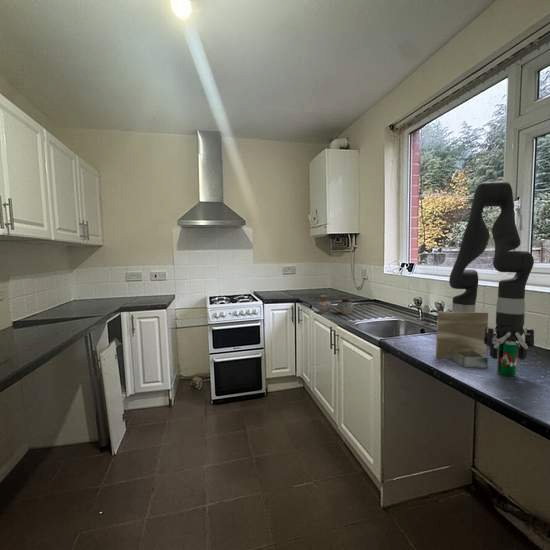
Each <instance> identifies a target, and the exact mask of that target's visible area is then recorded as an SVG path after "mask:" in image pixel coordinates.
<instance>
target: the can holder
mask: <svg viewBox="0 0 550 550" xmlns="http://www.w3.org/2000/svg"><path fill="white" fill-rule="evenodd" d="M450 358H451V359H452V360H453V361H454V362H456V363H457V364H458V365H460V366H462V367H463V368H484V369H485V368H488V357H487V356H486V357H485V356H483V355H481V354H480V353H478V352H476V351H475V350H471V356H470V357H464V356H463V355H461V354H460V353H458V352H457V351H455V350H454V349H451V356H450ZM450 358H449V359H450Z"/></svg>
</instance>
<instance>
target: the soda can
mask: <svg viewBox="0 0 550 550" xmlns="http://www.w3.org/2000/svg"><path fill="white" fill-rule="evenodd" d="M518 350H519V345H518V344H517V341H504V342H503V343H502V344H500V345H499V346H498V357H497V369H496V371H497V373H498V374H499V375H501V376H503V377H507V378H514V377H516V376H517V363H518V362H517V361H518Z"/></svg>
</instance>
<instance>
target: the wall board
mask: <svg viewBox="0 0 550 550" xmlns="http://www.w3.org/2000/svg"><path fill="white" fill-rule="evenodd" d="M436 320H437V321H436V341H435V343H436V345H435V356H436V357H437V358H449V359H450V356H451V349H454V350H455V351H457V352H458V353H460V354H461V355H463V356H464V357H470V356H471V350H475V351H476V352H478V353H480V354H481V355H483V356H485V357H487V346H488V345H486V344H484V337H485V328H486V327H489V325H488V324H489V312H487V311H486V312H485V311H482V312H480V311H475V312H452V311H437V318H436Z"/></svg>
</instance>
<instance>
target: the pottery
mask: <svg viewBox="0 0 550 550" xmlns="http://www.w3.org/2000/svg"><path fill="white" fill-rule="evenodd" d="M328 298H329V295H325V294H324V295H320V299H321V300H319V302H317V303H316V306H317V309H318V311H320V312H319V313H320V314H321V315H328V314H329V311H330V310H331V308H332V305H333V304H332V303H331V302H330V301H329V299H328ZM340 300H341V302H339V303H337V308H338V310H339V311H340V313H341V315H345V316H349V315H351V313H352V312H354V309H355V304H354V303H353V302H351V301H352V298H351V297H341V299H340Z"/></svg>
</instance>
